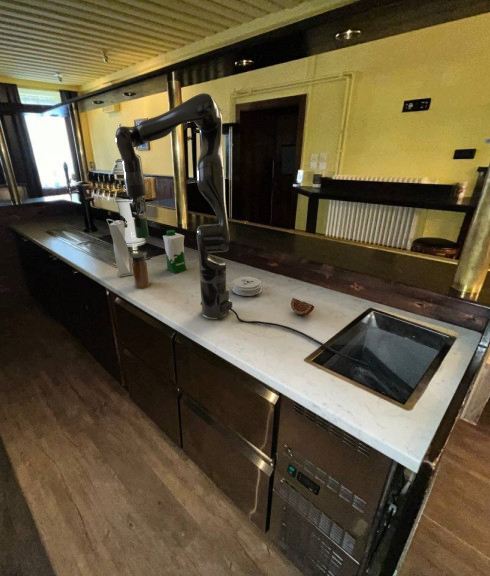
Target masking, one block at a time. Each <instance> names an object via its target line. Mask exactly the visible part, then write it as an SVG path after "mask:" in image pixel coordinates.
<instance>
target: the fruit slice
mask: <svg viewBox="0 0 490 576" xmlns="http://www.w3.org/2000/svg"><path fill="white" fill-rule="evenodd" d="M290 307H291V309H292V311H293V312H294V313H295V314H297V315H299V316H307V315H309V314H311V313H312V312H313V311H314V310H315V306H314V305H313V304H312V303H309V302H306V301H304V300H300V299H297V298H295V297H292V299H291V300H290Z"/></svg>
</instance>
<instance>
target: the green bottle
mask: <svg viewBox="0 0 490 576" xmlns="http://www.w3.org/2000/svg"><path fill="white" fill-rule="evenodd" d="M140 218H141V225H142V226H141V227H136V223H135V218H133V224H134V225H133V226H134V231H135V238H137V239H145V238H149V237H150V232H149V227H148V225H149V224H148V217H147V216H146V212H145V213H140Z"/></svg>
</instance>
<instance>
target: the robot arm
mask: <svg viewBox="0 0 490 576" xmlns="http://www.w3.org/2000/svg"><path fill="white" fill-rule="evenodd" d="M187 123H194V124H195V125H196V126H197V127H198V130H199V134H200V142H201V149H200V154H199V156H198V160H197V164H196V179H197V180H196V181H197V188H198V190H199V192H200V193H201V195H202V196H203V198H204V199H205V200H206V202H207V203H208V204H209V206H210V207H211V209H212V210H213V212H214V214H215V216H216V219H217V222H218V223H214V224H200V225H198V226H197V228H196V243H197V251H198V263H199V265H198V266H199V267H198V268H199V283H200V285H199V286H200V300H201V301H200V306H201V316H202V317H203V318H205V319H207V320H213V321H214V320H218V321H221V320H223V319H224V318H225V317H227V315H229V314H230V312H232V313H233V314H234V315H235V317H236V319H237V321H239V322H240V323H245V324H261V325H267V326H268V325H269V326H275V327H279V328H283V329H286V330H289V331H292V332H295V333H297V334H299V335H302V336H303V337H306V338H307V339H309V340H311V341H313V342H314V343H316V344H318V345H320V346H322V347H323V348H325V349H327V350H328V351H330V352H332V353H334V354H335V355H338V356H340V357H342V358H343V359H344V358H345V359H347V360H349V361H352V362H354V363H357V364H360V365H362V366H365V367H369V363H368V362H364V361H361V360H359V359H356V358H353V357H351V356H348V355H346V354H343V353H341V352H339V351H337V350H335V349H333V348H332V347H330V346H329V345H327V344H324V343H323V342H321V341H319V340H317V339H316V338H314V337H312V336H311V335H308V334H306V333H305V332H302V331H300V330H297V329H296V328H293V327H289V326H288V325H287V326H286V325H283V324H279V323H275V322H268V321H261V320H243V319H241V318H240V317H239V314H238V313H237V312H236V311H235V310H234V309H233V301H231V300H230V291H229V290H228V289H227V264H226V261H224V260H222V259H220V258H217V257H213V255H210V254H212V253H224V252H225V253H226V252H228V251H229V249H230V247H231V234H230V227H229V218H228V209H227V201H226V199H227V198H226V177H225V166H224V165H225V164H224V153H223V145H222V137H223V136H222V134H223V114H222V110H221V108H220V106H219V105H218V103H217V102H216V100H215V99H214V98H213V96H212V95H211V94H209V93H206V92H203V93H198V94H196V95H194V96H192V97H190V98H189V99H186V100H185V101H184V102H182V103H180V104H178V105H177V106H175V107H173V108H171V109H169V110H168V111H165V112H164V113H162V114H159V115H156V116H153V117H150V118H148V119H145V120H142V121H140V122H139V123H138V124H136V125H134V126H127V125H126V126H125V125H124V126H119V127H118V128H117V129H116V131H115V134H114V135H115V137H114V138H115V144H116V148H117V149H118V152H119V155H120V157H121V160H122V165H123V166H122V167H123V172H124V184H125V191H126V196H127V197H130V198H131V202H130V203H129V209H130V214H131V217H132V218H133V219H134V218H135V223H136V227H141V226H142V225H141V218H140V213H145V214H146V213H147V206H146V205H147V203H146V198H145V197H143V196H146V195H147V190H146V182H145V181H146V180H145V174H144V170H143V164H142V157H141V156H140V155H139V154H137V153H136V150H135V148H138V147H141V146H143V145H145V144H147V143H150V142H154V141H157V140H161V139H163V138H165V137H167V136H168V135H170V134H171V133H172V132H173V131H174V130H175V129H176V128H177V127H178V126H180V125H182V124H187ZM209 253H210V254H209Z"/></svg>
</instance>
